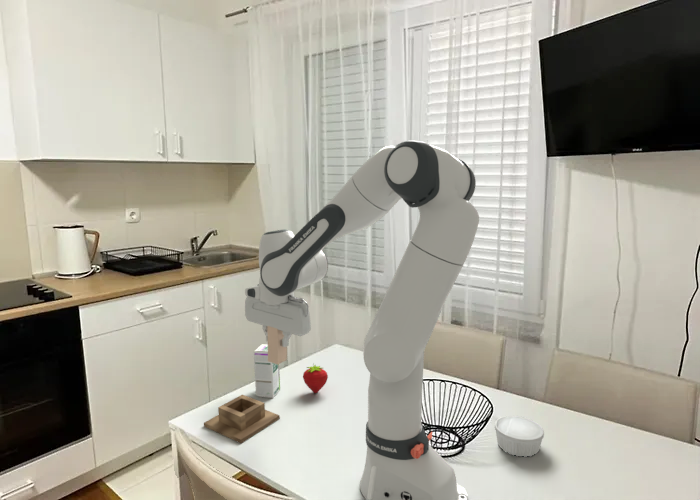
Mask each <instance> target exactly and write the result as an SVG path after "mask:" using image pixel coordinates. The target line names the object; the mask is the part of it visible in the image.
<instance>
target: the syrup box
mask: <svg viewBox="0 0 700 500" xmlns="http://www.w3.org/2000/svg"><path fill="white" fill-rule="evenodd" d="M253 367H254V368H253V369H254V382H255V387H254V388H255V396H256V397H258V398H269V399H275V397H276V396H277V394H278V393H279V391H280V390H281V381H280V380H281V377H280V364H278V365H277V364H275V363H272V362H269V361H268V343H265V344H260V345H259V346H258V347H257V348H256V349H254V351H253Z"/></svg>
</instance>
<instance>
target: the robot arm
mask: <svg viewBox="0 0 700 500" xmlns="http://www.w3.org/2000/svg"><path fill="white" fill-rule="evenodd" d="M476 184H477V183H476V177H475V174H474V172H473V170H472V169H471V167H470V166H469V164H467V163H466V162H464V161H463V160H462V159H460V158H457V157H455V156H454V155H452V154H451V153H450V152H449V151H447V150H446V149H443V148H440V147H438V146H435V145H432V144H430V143H427V142H426V141H420V140H405V141H402V142H400V143H398V144H396V145H388V146H384V147H382V148H381V149H380V150H378V151H377V152H376V153H375V154H373V155H372V156H371V157H369V158H368V159H367V160H366V161H365V162H363V163H362V165H361V166H360V167H359V168H358V169H357V170H356V171H355V172H354V173H353V174H352V175H351V177H350V178H349V179H348V180H347V181H346V182H345V184H344V185H343V186H342V187H341V188H340V190H338V191H337V193H336V194H335V195H334V196H333V198H331V199H330V200H329V201H328V202H327V203H326V204H325V205H324V206H323V207H322V209H321V210H319V211H318V213H317V214H315V215H314V216H312V218H311V219H310V220H309V221H308V222H307V223H306V224H305V225H304V226H303V227H302V228H301V229H300V230H299V231H298V232H297V233H296V234H294V232H293V231H292V230H290V229H279V230H278V229H277V230H272V231H266V232H264V233H263V234H262V235H261V237H260V241H259V248H258V266H259V270H260V271H259V272H260V273H259V274H260V276H259V280H258V284H256V285H252V286H248V287H246V288H245V290H244V294H245V296H246V297H245V300H244V316H245V318H246V321H247V322H250V323H254V324H258V325H262V330H263V333H264V335H265V341H266V342H267V343H268V326H270V327H273V328H277V329H278V330H281V331H283V335H284V337H283V339H281V340H280V346H282V347H287V348H288V346H289V340H290V338H291V336H292V335H295V336H299V337H303V336H305V335H307V334H309V333H310V331H311V329H312V328H311V327H312V326H311V325H312V323H311V316H310V309H309V307H310V306H309V303H307V301H305V299H304V298H303V297H297V296H295V291H297V290H299V289H300V290H301V289H303V288H306V287H309V286H311V285H314V284H317V283H318V282H321V281H322V280H323V279H325V277H327V273H328V272H329V261H328V258H327V255H326V254H325V252H324V251H323V249H325V248H326V247H327V246H328V245H330V244H331V243H332V242H335V241H336V240H339V239H340V238H343V237H345V236H347V235H351V234H354V233H357V232H360V231H363V230H366V229H368V228H369V227H372V226H373V225H374V224H375V223H377V222H378V221H380V220H381V219H383V218H384V217H385V216H386V214H387V213H389V212H390V211H391V210H392V209H393V208H394V206H395V205H396V204H397V203H398V202H399V201H400V200H401V199H402V200H403V201H404V202H405V203H406V205H407V206H408V207H410V208H417V209H418V212H419V220H418V222H417V223H418V224H417V225H416V228H415V230H414V232H413V234H412V236H411V239H410V241H409V242H408V245H407V247H406V249H405V251H404V253H403V255H402V257H401V260H400V262H399V264H398V267H396V270H395V273H394V275H393V278H392V279H391V281H390V283H389V286H388V288H387V290H386V292H385V294H384V295H383V296H384V297H383V299H382V301H381V302H380V305H379V308H378V309H377V311H376V313H375V316H374V318H373V319H372V322H371V324H370V327H368V331H367V332H366V334H365V337H364V341H363V347H362V350H363V351H362V352H363V354H362V355H363V362H364V365H365V367H366V369H367V371H368V372H369V381H368V388H367V391H368V393H367V395H368V396H367V421H366V425H365V443H366V446H367V447H366V457H365V464H364V469H363V471H362V472H363V473H362V477H361V479H360V482H359V489H360V493H361V494H362V496H363V497H364V499H365V500H469V498H468V497H469V496H468V492H467V489H466V488H465V487H463V486H462V485H460V484H458V483H457V476H456V473H455V470H454V468H453V467H452V465H451V464H450V463H448V462H447V460H446V459H444V458H443V457H442V456H441V455H440V454H439V453H438V452H437V451H436V450H435V449H434V447H432V446H431V445H430V441H431V440H432V438H433V431H430V432H429V434H428V435H427V434H426V432H425V429H424V426H423V424H422V411H423V409H422V406H423V403H422V402H423V386H424V385H423V383H424V382H423V381H424V378H423V377H424V365H425V364H424V362H425V361H424V360H425V350H426V346H427V345H428V342H429V340H430V338H431V336H432V334H433V331H434V329H435V327H436V325H437V322H438V320H439V317H440V315H441V313H442V310H443V308H444V305H445V303H446V301H447V299H448V296H449V294H450V293H451V291H452V289H453V287H454V285H455V283H456V281H457V279H458V277H459V274H460V273H461V270H462V268H463V267H464V265H465V262H466V261H467V258H468V255H469V254H470V252H471V249H472V245H473V243H474V241H475V237H476V233H477V231H478V228H479V227H478V226H479V223H480V214H479V213H478V210H477V208H476V207H475V206H474V205H473V204H472V203H471V202H470V200H471V199H472V197H473V195H474V194H475V193H474V192H475V191H476Z"/></svg>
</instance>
